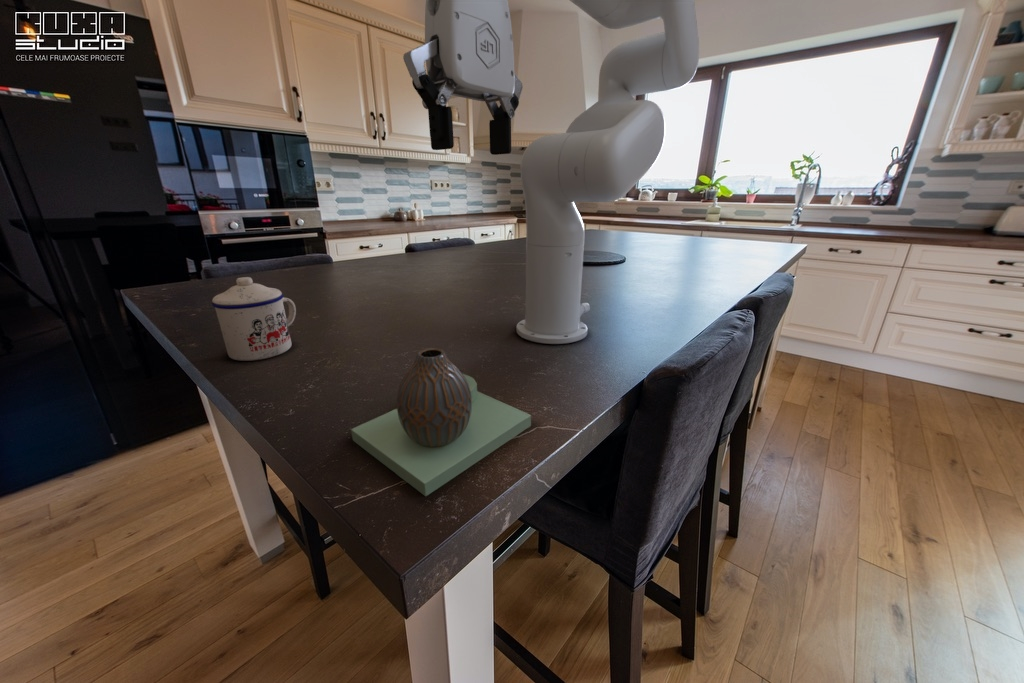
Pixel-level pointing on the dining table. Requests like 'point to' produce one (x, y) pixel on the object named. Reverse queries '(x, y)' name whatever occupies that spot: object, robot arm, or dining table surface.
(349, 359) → the dining table surface
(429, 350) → the vase
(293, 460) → the dining table surface
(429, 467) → the scale
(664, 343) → the dining table surface
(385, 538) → the dining table surface
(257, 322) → the teacup with lid
